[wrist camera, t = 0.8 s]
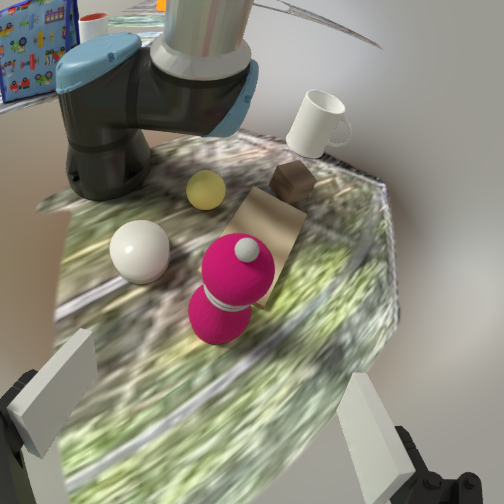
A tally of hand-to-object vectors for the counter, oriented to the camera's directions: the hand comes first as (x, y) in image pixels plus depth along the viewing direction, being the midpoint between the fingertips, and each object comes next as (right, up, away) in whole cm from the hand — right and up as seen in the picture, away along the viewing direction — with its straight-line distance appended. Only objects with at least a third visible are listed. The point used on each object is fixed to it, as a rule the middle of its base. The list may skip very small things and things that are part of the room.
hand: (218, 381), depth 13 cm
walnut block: (+8, +17, +39) cm, 43 cm away
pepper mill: (-3, -3, +25) cm, 25 cm away
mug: (+14, +28, +47) cm, 56 cm away
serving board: (+2, +7, +32) cm, 33 cm away
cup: (-51, +76, +56) cm, 107 cm away
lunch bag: (-54, +51, +41) cm, 85 cm away
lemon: (-6, +14, +33) cm, 36 cm away
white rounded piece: (-14, +5, +27) cm, 30 cm away
